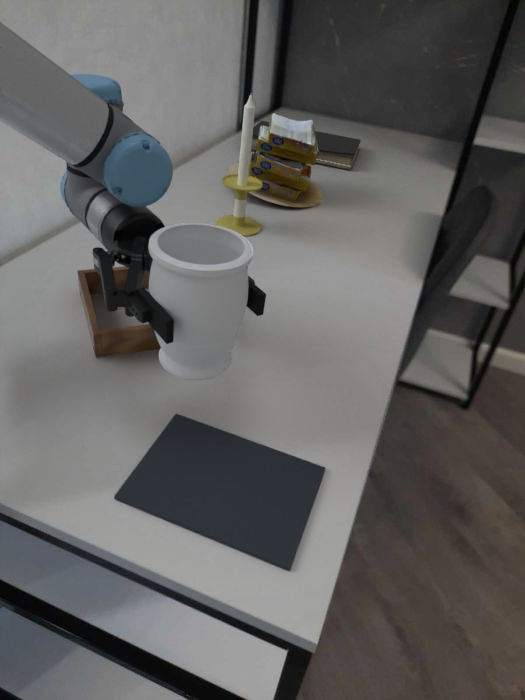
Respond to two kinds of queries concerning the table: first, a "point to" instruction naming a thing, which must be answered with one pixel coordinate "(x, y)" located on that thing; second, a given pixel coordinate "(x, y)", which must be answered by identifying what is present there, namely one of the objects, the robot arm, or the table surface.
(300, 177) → the snack boxes on plate
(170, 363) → the jar
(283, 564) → the mat
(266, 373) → the table surface
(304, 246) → the table surface
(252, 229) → the candle
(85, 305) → the wooden square frame
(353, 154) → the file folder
